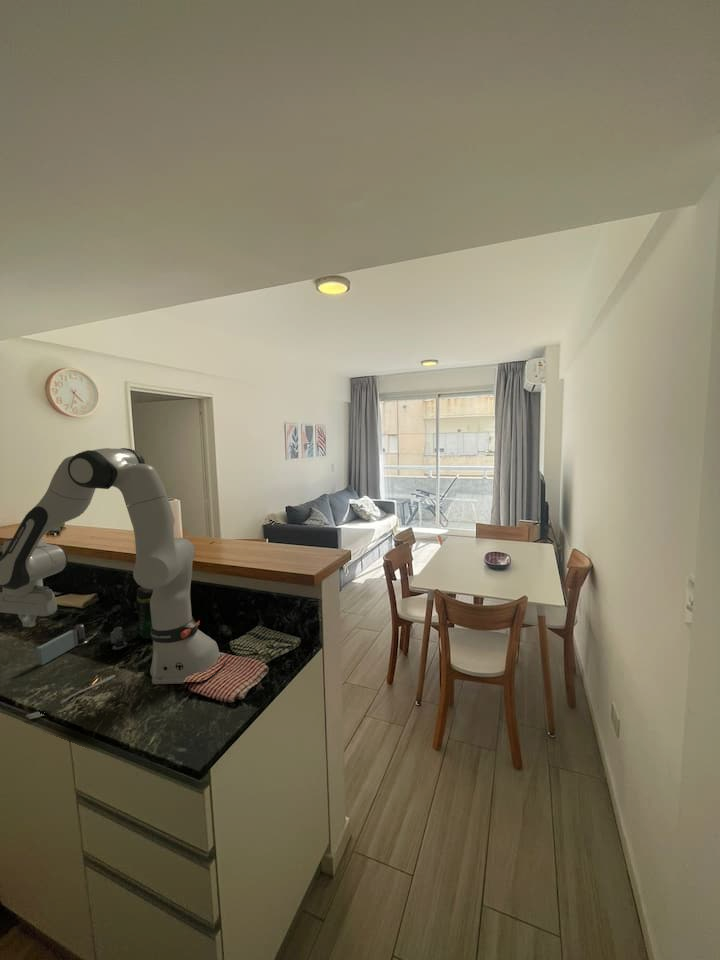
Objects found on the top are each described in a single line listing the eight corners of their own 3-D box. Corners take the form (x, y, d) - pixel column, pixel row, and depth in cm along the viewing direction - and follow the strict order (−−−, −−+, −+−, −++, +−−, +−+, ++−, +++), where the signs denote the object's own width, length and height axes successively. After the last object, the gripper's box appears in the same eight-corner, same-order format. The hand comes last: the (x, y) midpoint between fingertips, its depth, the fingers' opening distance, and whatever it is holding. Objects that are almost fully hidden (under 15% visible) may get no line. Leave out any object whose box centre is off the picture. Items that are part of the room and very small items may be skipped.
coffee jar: (145, 642, 132) (140, 591, 130) (137, 635, 137) (132, 586, 135) (173, 631, 139) (169, 582, 137) (164, 625, 144) (160, 578, 143)
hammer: (131, 642, 132) (129, 625, 131) (119, 650, 127) (118, 632, 126) (115, 641, 133) (113, 623, 133) (103, 648, 128) (101, 630, 128)
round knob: (92, 640, 135) (90, 622, 134) (80, 646, 130) (78, 629, 130) (82, 639, 136) (80, 622, 135) (70, 645, 131) (68, 628, 131)
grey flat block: (73, 644, 131) (71, 629, 131) (78, 644, 131) (76, 629, 130) (37, 664, 120) (35, 648, 119) (42, 664, 119) (40, 648, 119)
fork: (128, 672, 115) (127, 666, 115) (30, 725, 94) (29, 719, 94) (122, 669, 117) (121, 664, 116) (24, 721, 95) (23, 715, 95)
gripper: (60, 583, 121) (64, 624, 123) (11, 579, 125) (15, 619, 127) (40, 590, 115) (45, 633, 116) (-11, 586, 119) (-7, 628, 121)
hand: (29, 626), depth 122 cm, fingers closed
